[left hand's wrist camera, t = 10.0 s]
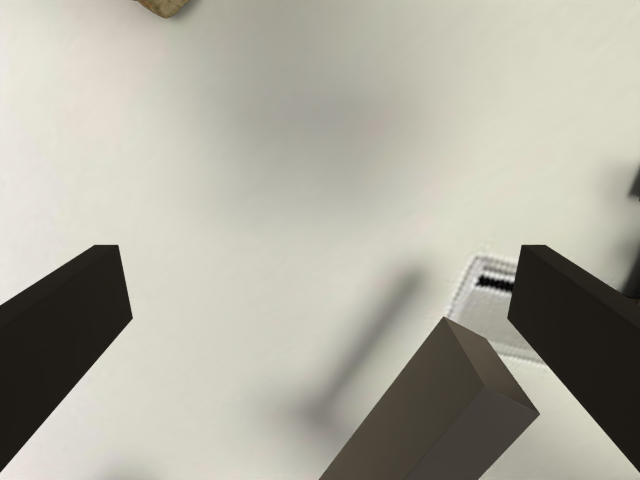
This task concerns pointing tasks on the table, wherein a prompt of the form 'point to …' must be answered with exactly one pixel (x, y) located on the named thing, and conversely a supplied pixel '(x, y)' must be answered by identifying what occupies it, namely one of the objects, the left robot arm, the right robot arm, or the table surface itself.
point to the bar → (439, 415)
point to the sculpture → (163, 6)
